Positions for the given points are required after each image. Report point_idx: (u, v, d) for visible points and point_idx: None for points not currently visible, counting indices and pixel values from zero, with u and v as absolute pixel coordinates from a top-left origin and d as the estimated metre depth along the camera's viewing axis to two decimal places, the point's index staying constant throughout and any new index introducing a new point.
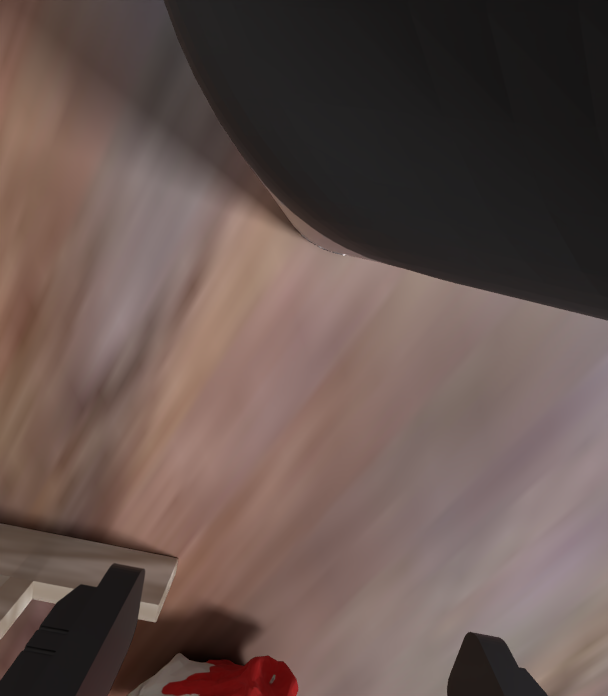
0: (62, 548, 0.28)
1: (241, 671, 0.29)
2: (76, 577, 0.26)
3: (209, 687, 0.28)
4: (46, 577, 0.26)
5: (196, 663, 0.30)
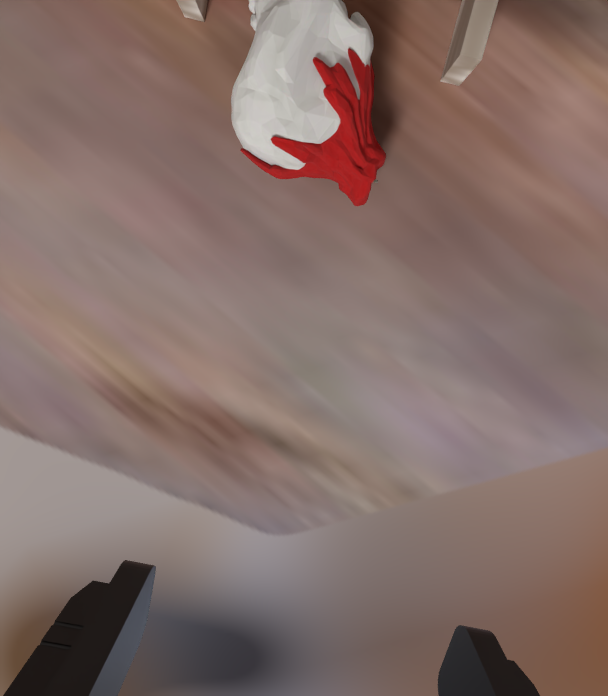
0: None
1: None
2: None
3: (370, 109, 0.27)
4: None
5: None
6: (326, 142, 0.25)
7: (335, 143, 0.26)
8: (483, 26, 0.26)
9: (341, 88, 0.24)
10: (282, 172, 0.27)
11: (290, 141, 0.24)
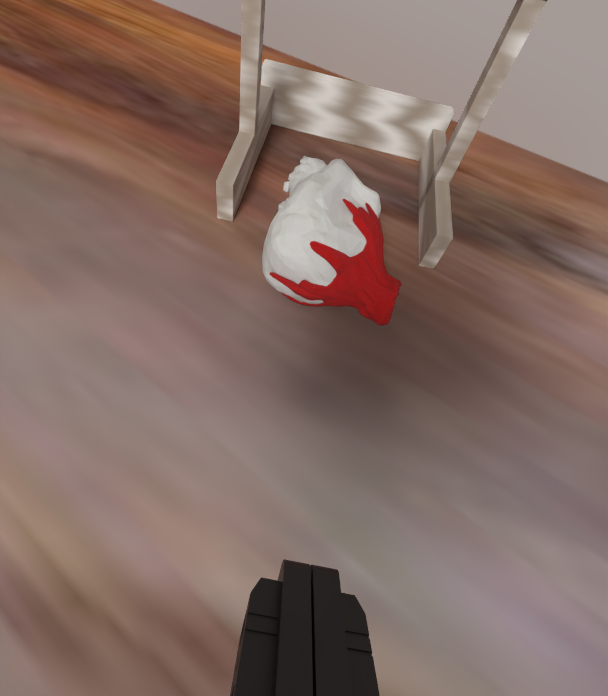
0: None
1: None
2: None
3: None
4: None
5: None
6: (355, 256, 0.28)
7: (362, 259, 0.28)
8: (446, 223, 0.36)
9: (365, 219, 0.29)
10: (312, 285, 0.28)
11: (327, 246, 0.27)
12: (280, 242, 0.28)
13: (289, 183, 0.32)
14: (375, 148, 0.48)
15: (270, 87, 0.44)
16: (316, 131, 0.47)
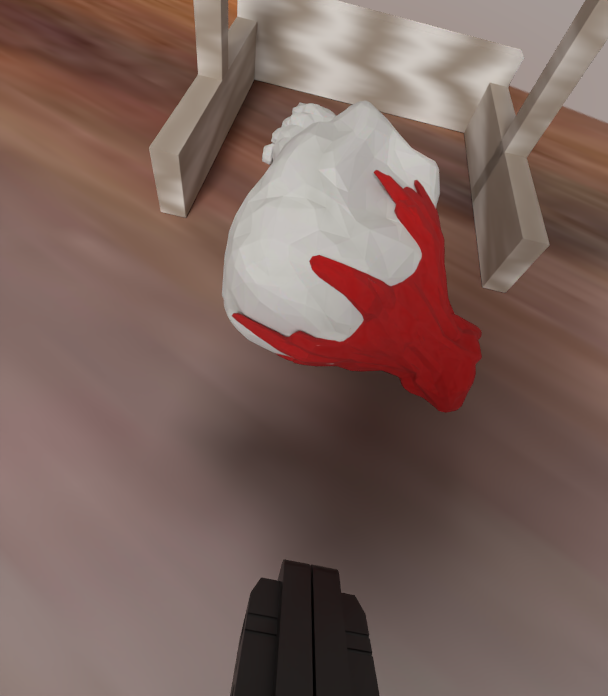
0: None
1: None
2: None
3: None
4: None
5: None
6: (401, 285, 0.14)
7: (414, 290, 0.14)
8: (535, 219, 0.22)
9: (419, 211, 0.15)
10: (314, 342, 0.14)
11: (345, 266, 0.13)
12: (249, 257, 0.14)
13: (272, 147, 0.18)
14: (403, 114, 0.34)
15: (250, 20, 0.30)
16: (319, 89, 0.33)
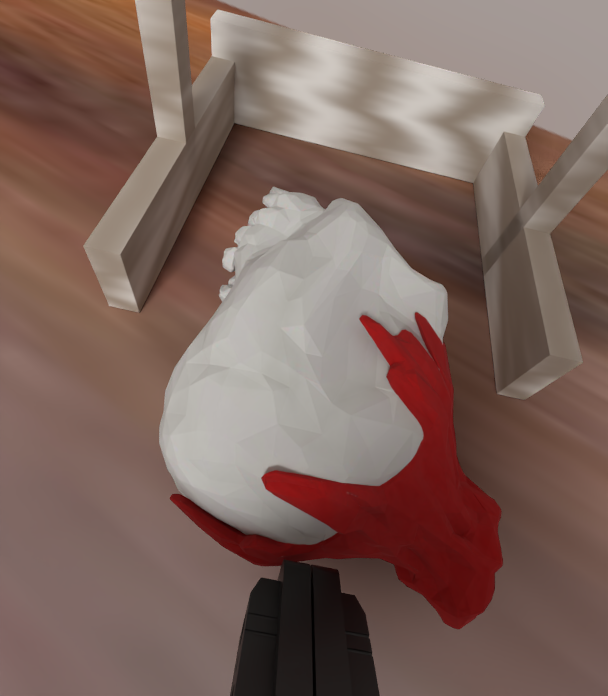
0: None
1: None
2: None
3: None
4: None
5: None
6: (394, 482, 0.10)
7: (412, 483, 0.10)
8: (563, 324, 0.18)
9: (421, 372, 0.11)
10: (275, 554, 0.10)
11: (314, 482, 0.09)
12: (183, 451, 0.10)
13: (234, 254, 0.14)
14: (403, 163, 0.29)
15: (227, 61, 0.26)
16: (307, 135, 0.29)
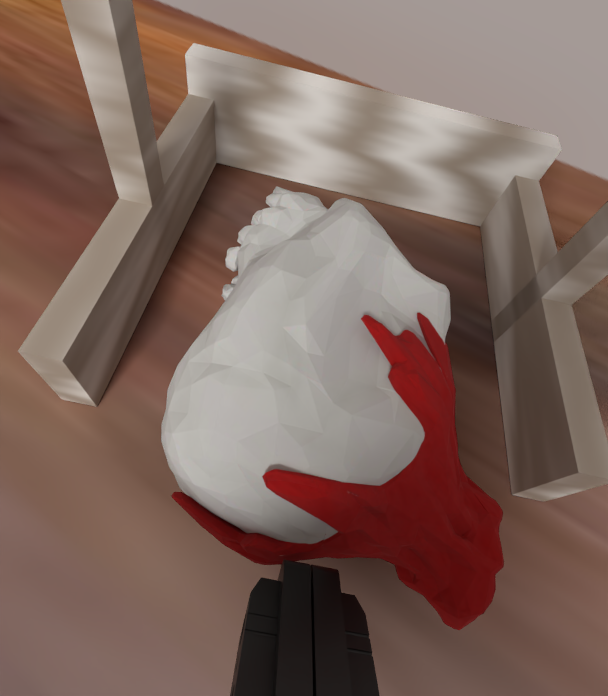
0: None
1: None
2: None
3: None
4: None
5: None
6: (395, 482, 0.10)
7: (413, 483, 0.10)
8: (592, 428, 0.15)
9: (422, 372, 0.11)
10: (276, 552, 0.10)
11: (315, 482, 0.09)
12: (184, 449, 0.10)
13: (237, 253, 0.14)
14: (403, 205, 0.27)
15: (205, 99, 0.23)
16: (297, 176, 0.26)
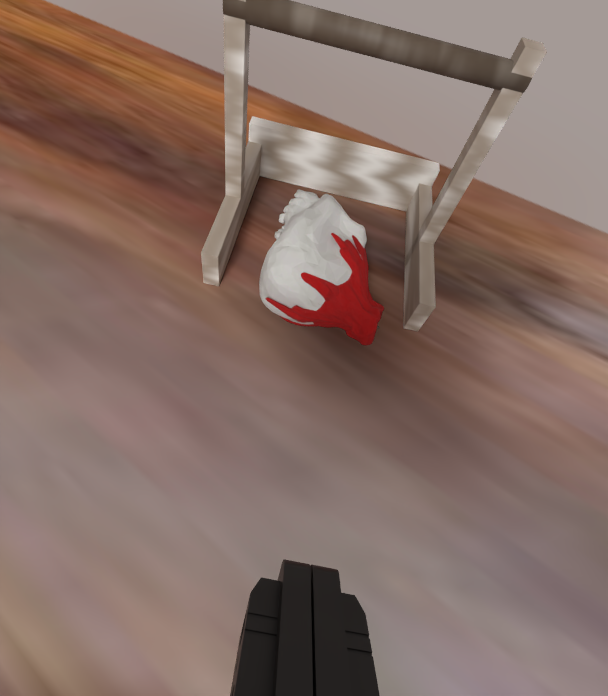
0: None
1: None
2: None
3: None
4: None
5: None
6: (342, 285, 0.32)
7: (348, 287, 0.32)
8: (430, 290, 0.37)
9: (351, 251, 0.32)
10: (303, 310, 0.32)
11: (316, 277, 0.30)
12: (275, 272, 0.31)
13: (284, 215, 0.35)
14: (363, 199, 0.48)
15: (257, 143, 0.44)
16: (304, 183, 0.47)
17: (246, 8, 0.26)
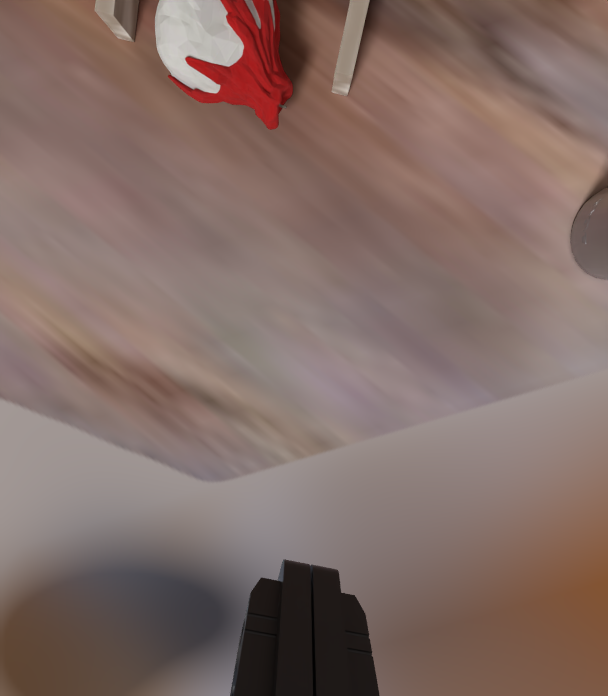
0: None
1: None
2: None
3: (277, 43, 0.32)
4: None
5: None
6: (234, 65, 0.30)
7: (242, 67, 0.31)
8: (352, 49, 0.32)
9: (241, 16, 0.29)
10: (202, 95, 0.32)
11: (201, 61, 0.29)
12: (163, 52, 0.30)
13: None
14: None
15: None
16: None
17: None
